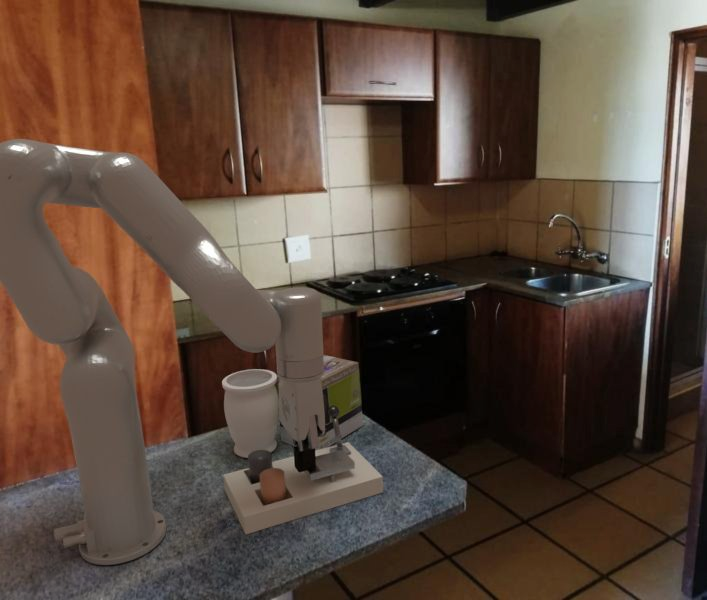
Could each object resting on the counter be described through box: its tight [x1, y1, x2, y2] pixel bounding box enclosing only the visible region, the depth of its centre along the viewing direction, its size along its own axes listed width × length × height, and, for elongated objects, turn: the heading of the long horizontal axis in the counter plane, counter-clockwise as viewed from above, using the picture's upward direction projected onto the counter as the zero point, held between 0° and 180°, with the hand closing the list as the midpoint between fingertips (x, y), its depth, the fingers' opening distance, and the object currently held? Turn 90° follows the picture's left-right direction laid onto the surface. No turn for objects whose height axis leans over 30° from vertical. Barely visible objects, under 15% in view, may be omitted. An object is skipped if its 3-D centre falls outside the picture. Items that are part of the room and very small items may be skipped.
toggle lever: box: [328, 406, 343, 450], centre depth 108 cm, size 2×2×8 cm
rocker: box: [304, 449, 355, 481], centre depth 100 cm, size 8×5×1 cm, turn 115°
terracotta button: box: [260, 468, 286, 506], centre depth 95 cm, size 4×4×4 cm
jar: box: [221, 368, 279, 459], centre depth 115 cm, size 11×10×15 cm
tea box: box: [275, 354, 364, 451], centre depth 120 cm, size 15×10×15 cm
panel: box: [222, 441, 384, 535], centre depth 101 cm, size 24×14×4 cm, turn 115°
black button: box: [247, 450, 273, 485], centre depth 101 cm, size 4×4×4 cm
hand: (305, 468), depth 98 cm, fingers closed
